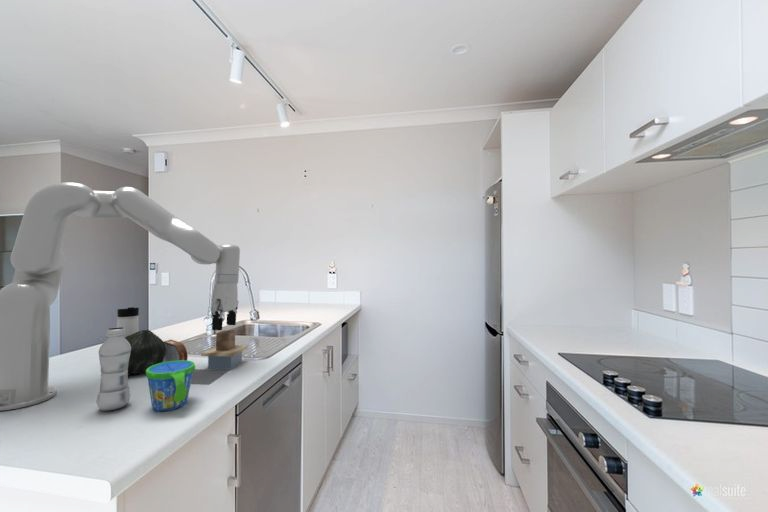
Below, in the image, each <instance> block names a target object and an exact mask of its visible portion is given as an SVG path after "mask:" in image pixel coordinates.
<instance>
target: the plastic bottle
mask: <svg viewBox="0 0 768 512" xmlns="http://www.w3.org/2000/svg"><path fill="white" fill-rule="evenodd" d="M124 335H125V327H117V326H115V327H108V328H107V329H106V334H105V337H106V339H105V340H104V342H103V343H102V344H101V345H100V347H99V349H98V358H99V366H100V382H99V391H98V393H97V397H96V398H97V399H96V404H97V408H98V409H99V410H100V411H104V412H107V411H115V410H119V409H122V408H124V407H125V406H126V405H128V403H129V401H130V397H131V389H130V386H129V374H128V364H129V358H130V352H131V346H130V343H129V342H128V341H127V340H126V339H125V338H124Z"/></svg>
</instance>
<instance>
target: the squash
mask: <svg viewBox="0 0 768 512" xmlns="http://www.w3.org/2000/svg"><path fill="white" fill-rule="evenodd" d="M125 339H126V340H127V341H128V342H129V343H130V346H131V352H130V358H129V364H128V375H131V374H133V375H137V374H140V375H141V374H142V375H146V369H147V368H149V367H150V366H152V365H155V364H158V363H162V362H163V359H164V357H165V354H166V346H165V344H164V340H162V339H161V338H160V336H158V335H156V334H155V333H154V332H153V331H151V330H150V329H143V330H138V332H136V333H134V334H132V335H129V336H127V337H125Z"/></svg>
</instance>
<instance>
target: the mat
mask: <svg viewBox="0 0 768 512" xmlns="http://www.w3.org/2000/svg"><path fill="white" fill-rule="evenodd" d="M230 371H231V369H202V368H201V369H196V368H195V369H194V371H193V373H192V378H191V384H190V385H201V386H202V385H205V386H206V385H207V386H208V385H210V384H212V383H214V382H215V381H216V380H218V379H220V378H222V377H223V376H224V375H226V374H227V373H229V372H230Z"/></svg>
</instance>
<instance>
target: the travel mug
mask: <svg viewBox="0 0 768 512" xmlns="http://www.w3.org/2000/svg"><path fill="white" fill-rule="evenodd" d="M139 310H140V308H139V307H135V306H132V307H127V308H117V314H116V315H117V316H116V327H125V335H124V338H125V337H127V336H129V335H132V334H134V333H136V332H139V323H140V322H139V319H140V312H139Z"/></svg>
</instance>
